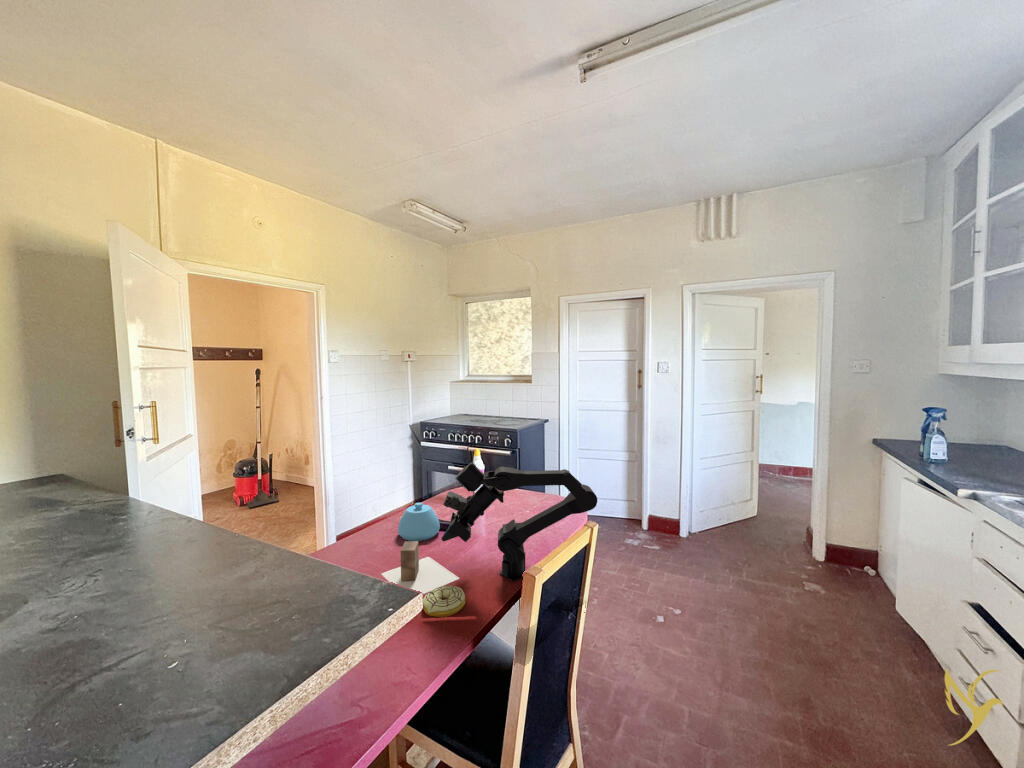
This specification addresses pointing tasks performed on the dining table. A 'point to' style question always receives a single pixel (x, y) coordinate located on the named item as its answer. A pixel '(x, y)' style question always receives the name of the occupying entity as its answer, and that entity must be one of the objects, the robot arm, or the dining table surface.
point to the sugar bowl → (418, 523)
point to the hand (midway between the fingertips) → (442, 539)
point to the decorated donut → (444, 601)
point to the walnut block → (409, 561)
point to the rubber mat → (423, 576)
